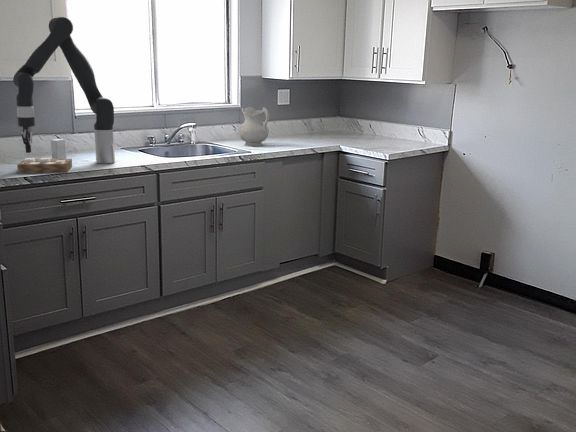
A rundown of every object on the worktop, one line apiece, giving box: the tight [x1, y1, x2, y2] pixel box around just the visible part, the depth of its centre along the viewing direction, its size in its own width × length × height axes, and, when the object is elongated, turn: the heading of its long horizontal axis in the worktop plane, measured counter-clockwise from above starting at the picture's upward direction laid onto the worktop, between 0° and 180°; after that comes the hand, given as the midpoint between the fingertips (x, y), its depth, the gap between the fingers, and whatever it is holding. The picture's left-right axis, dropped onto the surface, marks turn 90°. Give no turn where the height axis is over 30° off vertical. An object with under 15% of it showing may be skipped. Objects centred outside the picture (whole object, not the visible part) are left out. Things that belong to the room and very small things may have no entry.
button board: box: [16, 158, 73, 174], centre depth 294 cm, size 22×16×4 cm
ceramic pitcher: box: [237, 105, 270, 147], centre depth 388 cm, size 22×20×25 cm
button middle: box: [39, 157, 51, 162], centre depth 294 cm, size 4×4×2 cm
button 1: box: [23, 157, 36, 162], centre depth 293 cm, size 4×4×2 cm
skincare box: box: [50, 138, 67, 159], centre depth 313 cm, size 6×4×12 cm
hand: (28, 152), depth 291 cm, fingers closed
